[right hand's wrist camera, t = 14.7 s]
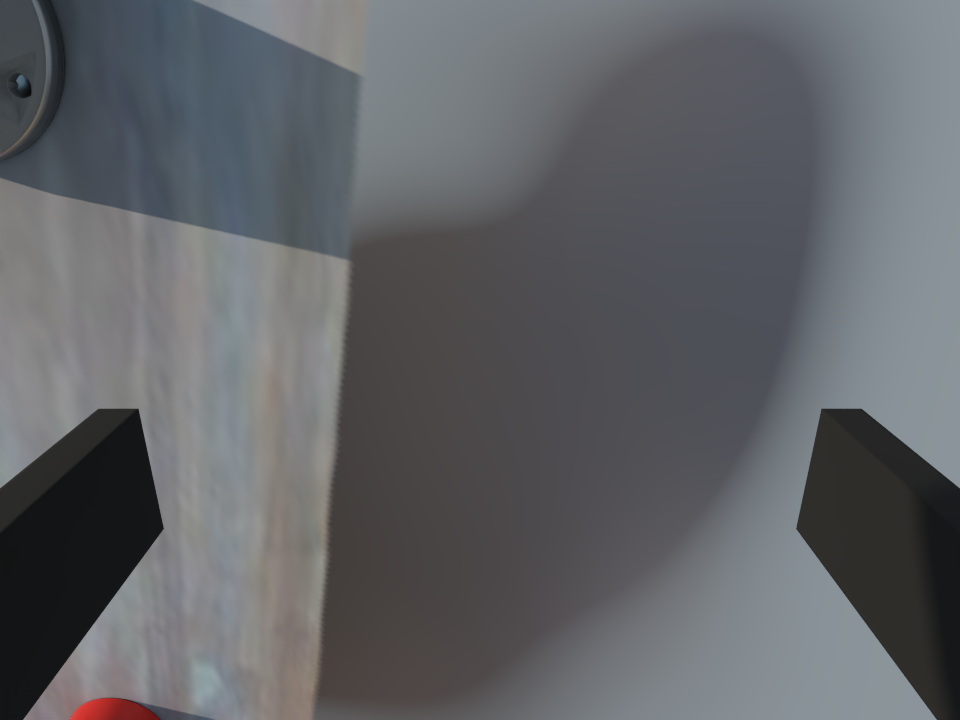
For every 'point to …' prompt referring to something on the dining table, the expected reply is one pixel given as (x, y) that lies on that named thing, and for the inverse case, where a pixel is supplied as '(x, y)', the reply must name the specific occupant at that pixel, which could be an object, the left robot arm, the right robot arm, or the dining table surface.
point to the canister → (112, 710)
